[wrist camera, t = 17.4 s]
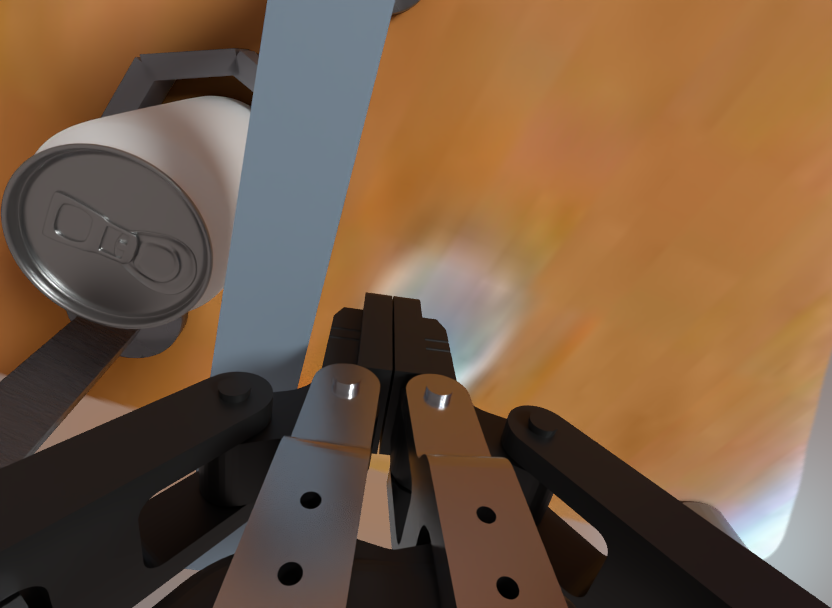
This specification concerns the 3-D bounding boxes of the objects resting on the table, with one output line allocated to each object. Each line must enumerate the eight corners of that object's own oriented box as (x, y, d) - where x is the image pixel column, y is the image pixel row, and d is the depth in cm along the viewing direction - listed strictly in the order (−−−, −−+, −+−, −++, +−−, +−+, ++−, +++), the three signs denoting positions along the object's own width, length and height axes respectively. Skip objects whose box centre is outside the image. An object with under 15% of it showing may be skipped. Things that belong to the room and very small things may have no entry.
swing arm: (295, -467, 7) (267, -650, 5) (542, -328, 8) (592, -444, 6) (171, 506, 16) (145, 563, 14) (292, 524, 16) (282, 580, 15)
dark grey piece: (226, 272, 27) (4, 584, 11) (156, 363, 29) (-109, 727, 13) (125, 205, 25) (-336, 470, 9) (59, 309, 27) (-395, 664, 11)
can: (261, 244, 26) (182, 371, 16) (143, 184, 24) (-39, 282, 14) (313, 141, 24) (262, 207, 13) (187, 65, 22) (10, 72, 11)
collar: (370, 152, 24) (369, 162, 22) (261, 287, 27) (251, 306, 25) (194, -1, 21) (172, -8, 19) (91, 173, 24) (62, 184, 22)
